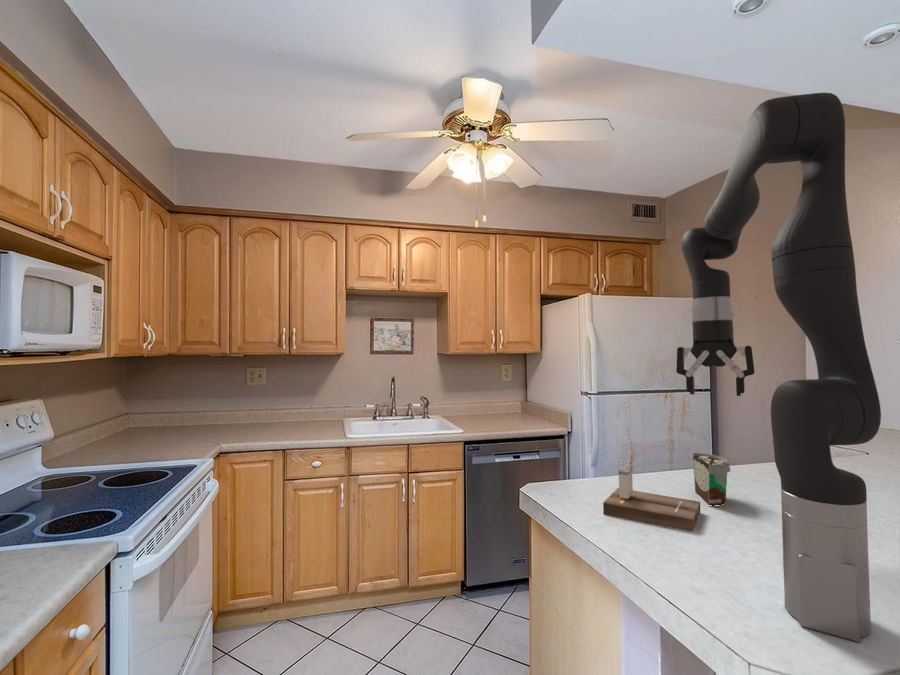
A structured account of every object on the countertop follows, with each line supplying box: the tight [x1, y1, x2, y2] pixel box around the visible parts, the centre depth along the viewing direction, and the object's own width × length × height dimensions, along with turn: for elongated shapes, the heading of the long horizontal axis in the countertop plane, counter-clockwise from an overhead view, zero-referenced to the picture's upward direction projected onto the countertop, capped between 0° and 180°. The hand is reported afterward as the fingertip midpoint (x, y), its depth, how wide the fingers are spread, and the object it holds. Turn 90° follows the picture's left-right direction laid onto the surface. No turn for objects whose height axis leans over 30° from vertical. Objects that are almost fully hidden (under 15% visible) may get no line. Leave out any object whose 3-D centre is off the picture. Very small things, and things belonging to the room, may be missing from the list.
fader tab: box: [618, 466, 634, 499], centre depth 104 cm, size 4×2×6 cm, turn 144°
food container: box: [692, 452, 731, 507], centre depth 108 cm, size 12×6×10 cm, turn 168°
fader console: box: [602, 487, 701, 532], centre depth 100 cm, size 12×18×3 cm, turn 54°
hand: (715, 394), depth 95 cm, fingers open, 8 cm apart
